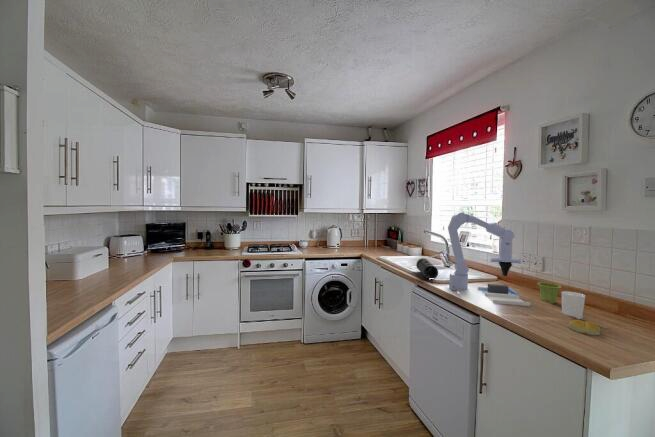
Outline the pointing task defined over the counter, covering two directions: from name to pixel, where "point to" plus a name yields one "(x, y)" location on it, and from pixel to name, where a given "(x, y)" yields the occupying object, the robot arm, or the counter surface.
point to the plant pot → (549, 292)
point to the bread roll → (584, 327)
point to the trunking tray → (504, 297)
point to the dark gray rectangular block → (497, 288)
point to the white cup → (573, 304)
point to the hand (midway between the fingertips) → (504, 275)
